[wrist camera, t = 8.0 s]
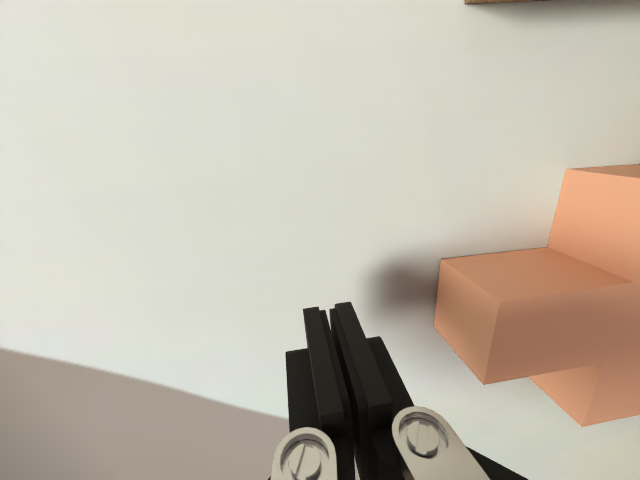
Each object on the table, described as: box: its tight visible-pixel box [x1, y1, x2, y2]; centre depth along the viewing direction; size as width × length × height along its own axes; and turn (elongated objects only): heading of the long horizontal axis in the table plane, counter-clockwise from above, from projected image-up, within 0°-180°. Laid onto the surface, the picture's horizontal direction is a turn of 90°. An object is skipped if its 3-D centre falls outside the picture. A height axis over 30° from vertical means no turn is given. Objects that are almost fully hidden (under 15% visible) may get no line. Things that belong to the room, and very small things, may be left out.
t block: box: [434, 164, 640, 427], centre depth 14 cm, size 12×10×4 cm
